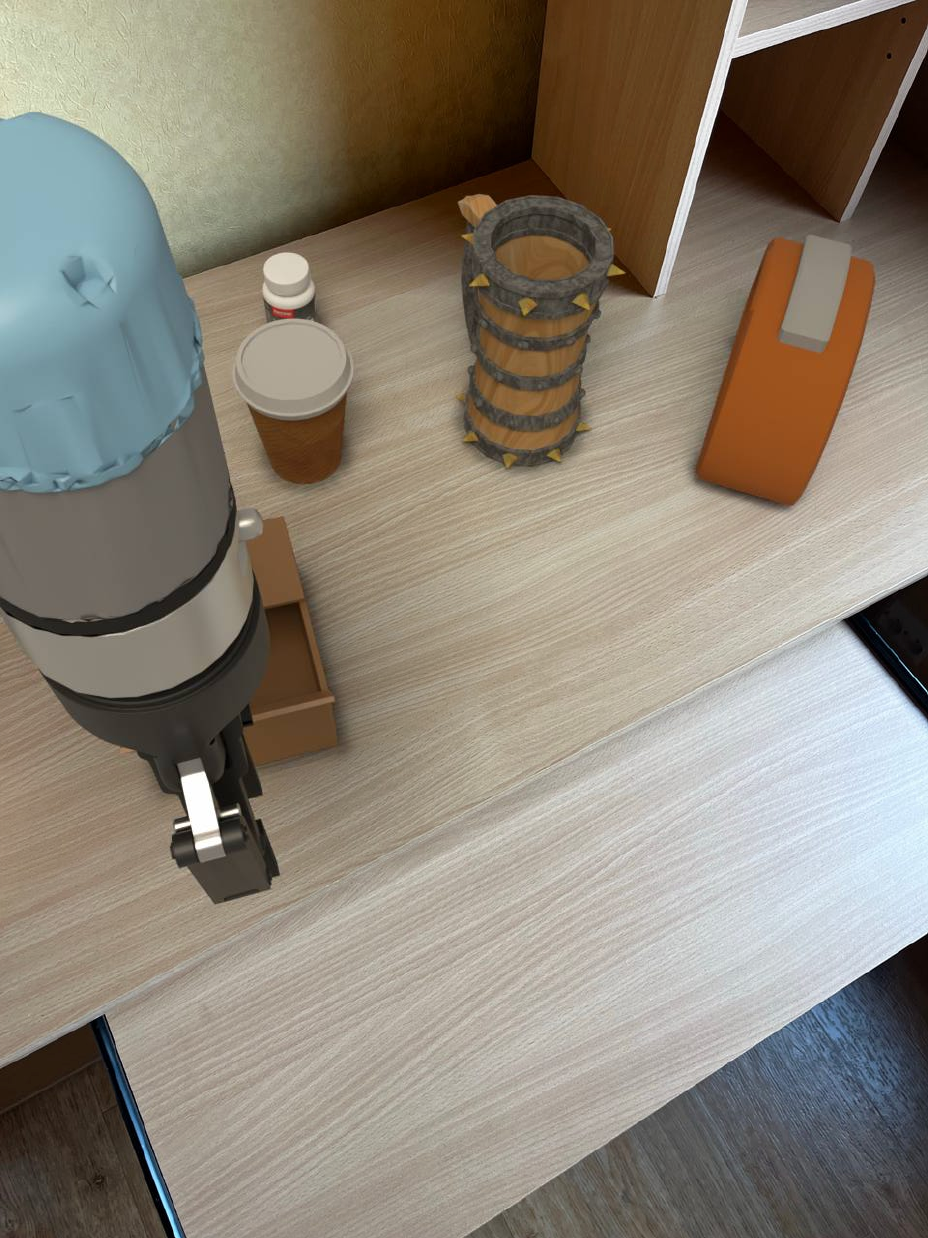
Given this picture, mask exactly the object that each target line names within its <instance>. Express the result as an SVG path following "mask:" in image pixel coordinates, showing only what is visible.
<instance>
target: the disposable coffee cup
mask: <svg viewBox="0 0 928 1238" xmlns="http://www.w3.org/2000/svg"><path fill="white" fill-rule="evenodd" d="M354 369H355V367H354V361H353V357H352V355H351V352H350V351H349V349H348V348H347V347H346V345H345V344H344V343H343V341H342V339H341V338H340V337H339V335H338V334H336V333H335V331H333V330H332V329H331V328H329V327H327V326H325V325H324V324H322V323H320V322H318V323H317V322H314V321H310V320H305V319H282V320H277V321H273V322H270V323H267V322H266V323H265V324H263V325H261V326H259V327H257V328H255V329H254V330H252V332H251V333H249V334H248V335H247V336H246V337H244V339H243V340H242V341H241V343H240V345H239V346H238V349H237V352H236V356H235V358H234V361H233V363H232V369H231V377H232V382H233V386H234V388H235V390H236V393H238V395H239V396H240V398H241V399H242V400H243V401H244V403H246V405H247V406H246V407H247V408H248V410H249V414H250V416H251V419H252V420H253V421H252V422H253V423H254V425H255V428H256V431H257V433H258V436H259V438H260V440H261V443H262V446H263V447H264V450H265V453H266V455H267V458H268V460H269V463H270V465H271V469H272V470H273V471H274V472H275V474H277V476H279V477H280V478H282V479H284V480H285V481H287V482H290V483H294V484H301V485H308V484H314V483H318V482H321V481H323V480H325V479H327V478H329V477H330V476H332V475H333V474H334V472H336V470H337V469H338V468H339V466H340V464H341V461H342V455H343V441H344V431H345V423H346V422H345V421H346V411H347V402H348V401H347V400H348V399H347V398H348V391H349V389H350V387H351V384H352V382H353V379H354Z"/></svg>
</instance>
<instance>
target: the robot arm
mask: <svg viewBox="0 0 928 1238" xmlns="http://www.w3.org/2000/svg"><path fill="white" fill-rule="evenodd" d="M164 229H165V228H164V225H163V224H162V221H161V217H160V214H159V211H158V208H157V205H156V203H155V200H154V198H153V196H152V194H151V192H150V191H149V188H148V187H147V185H146V183H145V181H144V180H143V179H142V177H141V175H139V174H138V172H137V171H136V169H134V167H133V166H132V165H131V164H130V163H129V162H128V160H127V159H125V157H124V156H122V155H121V153H120V152H119V151H118V150H116V149H115V148H114V147H113V146H112V145H110V144H109V143H108V142H107V141H106V140H104V139H103V138H102V137H99V136H98V135H97V134H95V133H93V132H92V131H90V130H88V129H86V128H85V127H82V126H81V125H78V124H76V123H74V122H71V121H68V120H66V119H64V118H62V117H58V116H55V115H51V114H49V113H45V112H40V111H28V112H25V113H21V114H19V115H16V116H12V117H10V118H7V119H6V118H2V117H0V617H1V620H2V621H3V622H4V624H5V625H6V627H7V628H8V630H9V631H10V633H11V634H12V636H13V637H14V639H15V641H16V642H17V644H18V645H19V647H20V648H21V650H22V652H23V653H24V654H25V656H26V657H27V658H28V659H29V660H30V661H31V663H33V665H34V666H35V667H36V668H37V669H38V672H39V673H40V674H41V676H42V677H43V679H44V681H45V682H46V683H47V684H48V686H49V689H51V691H52V692H53V693H54V695H55V696H56V698H57V700H58V701H59V702H60V704H61V706H62V707H63V708H64V710H65V712H66V713H67V714H68V715H69V716H70V717H71V719H72V720H73V721H74V722H76V724H77V725H79V726H80V727H81V728H82V729H83V730H84V731H87V732H88V733H89V734H90V735H92V736H94V737H96V738H97V739H99V740H102V741H104V742H106V743H108V744H112V745H114V746H118V747H119V748H120V747H124V748H128V749H131V750H135V751H134V752H136V754H137V756H138V757H139V758H140V759H142V760H144V761H146V762H147V763H148V762H149V763H148V764H150V765H149V766H150V768H151V770H152V773H153V775H154V777H155V779H156V782H157V784H158V786H159V788H160V790H161V791H162V793H164V794H166V795H175V796H177V797H178V799H179V801H180V803H181V806H182V808H183V811H184V813H185V816H181V817H177V818H174V819H173V820H172V827H173V831H174V833H173V834H171V842H170V845H169V852H170V855H171V859H172V860H174V861H175V862H176V865H177V867H178V869H183V868H187V869H188V870H189V871H190V873H191V874H192V876H193V877H194V879H195V880H196V881H197V883H198V884H199V885H200V887H201V888H202V889H203V891H204V892H205V893H206V895H207V897H208V898H209V899H210V901H211V902H212V903H213V904H214V905H219V904H222V903H226V902H231V901H233V900H237V899H241V898H245V897H248V896H249V897H250V896H252V895H256V894H259V893H263V892H266V891H269V890H272V887H271V886H273V883H272V882H273V878H276V877H280V876H281V873H280V868H279V864H278V860H277V857H276V855H275V852H274V850H273V847H272V845H271V841H270V839H269V836H268V833H267V831H266V828H265V826H264V823H263V821H262V819H261V818H258V819H256V816H255V814H254V811H253V808H252V804H251V802H250V800H251V799H255V798H258V797H262V796H264V792H263V788H262V784H261V779H260V777H259V775H258V772H257V769H256V766H254V763H253V760H252V757H251V755H250V752H249V749H248V746H247V743H246V740H245V738H244V735H243V728H245V727H249V726H253V725H254V723H253V718H252V713H251V709H250V705H249V702H250V700H251V699H252V697H253V696H254V694H255V693H256V691H257V690H258V688H259V686H260V684H261V682H262V680H263V677H264V675H265V672H266V669H267V665H268V660H269V654H270V633H269V627H268V622H267V618H266V614H265V610H264V606H263V602H262V598H261V594H260V590H259V586H258V583H257V580H256V576H255V573H254V571H253V569H252V567H251V562H250V558H249V554H248V550H247V546H246V542H245V541H249V540H254V539H255V538H257V537H258V536H260V535H261V534H262V532H263V521H262V520H263V516H262V514H261V513H260V511H258V509H256V508H255V507H244V508H241V509H238V507H237V500H236V496H235V495H236V494H235V490H234V488H233V485H232V481H231V474H230V470H229V466H228V461H227V456H226V453H225V449H224V444H223V441H222V435H221V431H220V427H219V422H218V418H217V415H216V410H215V405H214V402H213V398H212V393H211V389H210V385H209V380H208V376H207V372H206V368H205V364H204V363H205V358H206V357H205V354H204V351H203V333H202V327H201V321H200V317H199V315H198V314H197V310H196V305H195V300H194V299H192V297H190V296H189V294H188V292H187V289H186V286H185V282H184V279H183V275H181V274H179V271H178V267H177V265H176V262H175V259H174V256H173V252H172V250H171V247H170V244H169V242H168V238H167V235H166V232H165V230H164Z"/></svg>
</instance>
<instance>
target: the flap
mask: <svg viewBox="0 0 928 1238" xmlns="http://www.w3.org/2000/svg"><path fill="white" fill-rule="evenodd" d="M328 689H329V688H328ZM328 689H327V690H323V691H319V692H315V693H310V694H306V695H302V696H298V697H294V698H290V699H286V700H282V701H278V702H274V703H270V704H266V705H261V706H257V707H253V708H250V709H251V713H252V718H253V722H255V721H259V720H263V719H267V718H271V717H275V716H279V715H283V714H287V713H292V712H296V711H300V710H304V709H308V708H312V707H316V706H320V705H324V704H328V703H331V704H332V703H335V702H336V698H335V697H336V696H335V695H334V694H333V692H332V691H330V690H328ZM117 750H118V754H119V755H120V756H121V755H125V754H129V753H134V752H136V751H135V750H131V749H128V748H124V747H120V746H119V747H118V749H117Z"/></svg>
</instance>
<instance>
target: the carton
mask: <svg viewBox="0 0 928 1238" xmlns="http://www.w3.org/2000/svg"><path fill="white" fill-rule="evenodd" d="M262 521H263V532H262V534H261V535H260V536H258V537H257V538H255V539H254V540H249V541H245V542H246V546H247V550H248V554H249V558H250V562H251V567H252V569H253V571H254V573H255V576H256V580H257V583H258V586H259V590H260V594H261V598H262V602H263V606H264V610H265V614H266V618H267V622H268V627H269V633H270V654H269V660H268V665H267V669H266V672H265V675H264V677H263V680H262V682H261V684H260V686H259V688H258V690H257V691H256V693H255V694H254V696H253V697H252V699H251V700H250V702H249V705H250V708H253V707H257V706H261V705H266V704H270V703H274V702H278V701H282V700H286V699H290V698H294V697H298V696H302V695H306V694H310V693H315V692H319V691H323V690H327V689H328V690H329V685H328V681H327V678H326V674H325V670H324V666H323V663H322V659H321V654H320V650H319V647H318V643H317V640H316V635H315V632H314V627H313V624H312V619H311V616H310V612H309V608H308V604H307V600H306V597H305V593H304V589H303V585H302V581H301V578H300V573H299V570H298V565H297V562H296V558H295V553H294V550H293V546H292V542H291V538H290V535H289V531H288V527H287V523H286V520H285V516H284V515H281V516H276V517H271V518H266V519H262ZM329 691H330V690H329ZM253 723H254V725H253V726H249V727H245V728H243V735H244V738H245V740H246V743H247V746H248V749H249V752H250V755H251V757H252V760H253V763H254V766H255V767H257V766H260V765H264V764H269V763H273V762H277V761H280V760H284V759H288V758H292V757H296V756H300V755H303V754H308V753H312V752H315V751H320V750H325V749H328V748H332V747H336V746H339V741H338V734H337V728H336V722H335V717H334V711H333V705H332V703H328V704H324V705H320V706H316V707H312V708H308V709H304V710H300V711H296V712H292V713H287V714H283V715H279V716H275V717H271V718H267V719H263V720H259V721H255V722H253ZM147 763H148V764H149V762H148V761H147ZM149 766H150V764H149Z"/></svg>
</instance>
